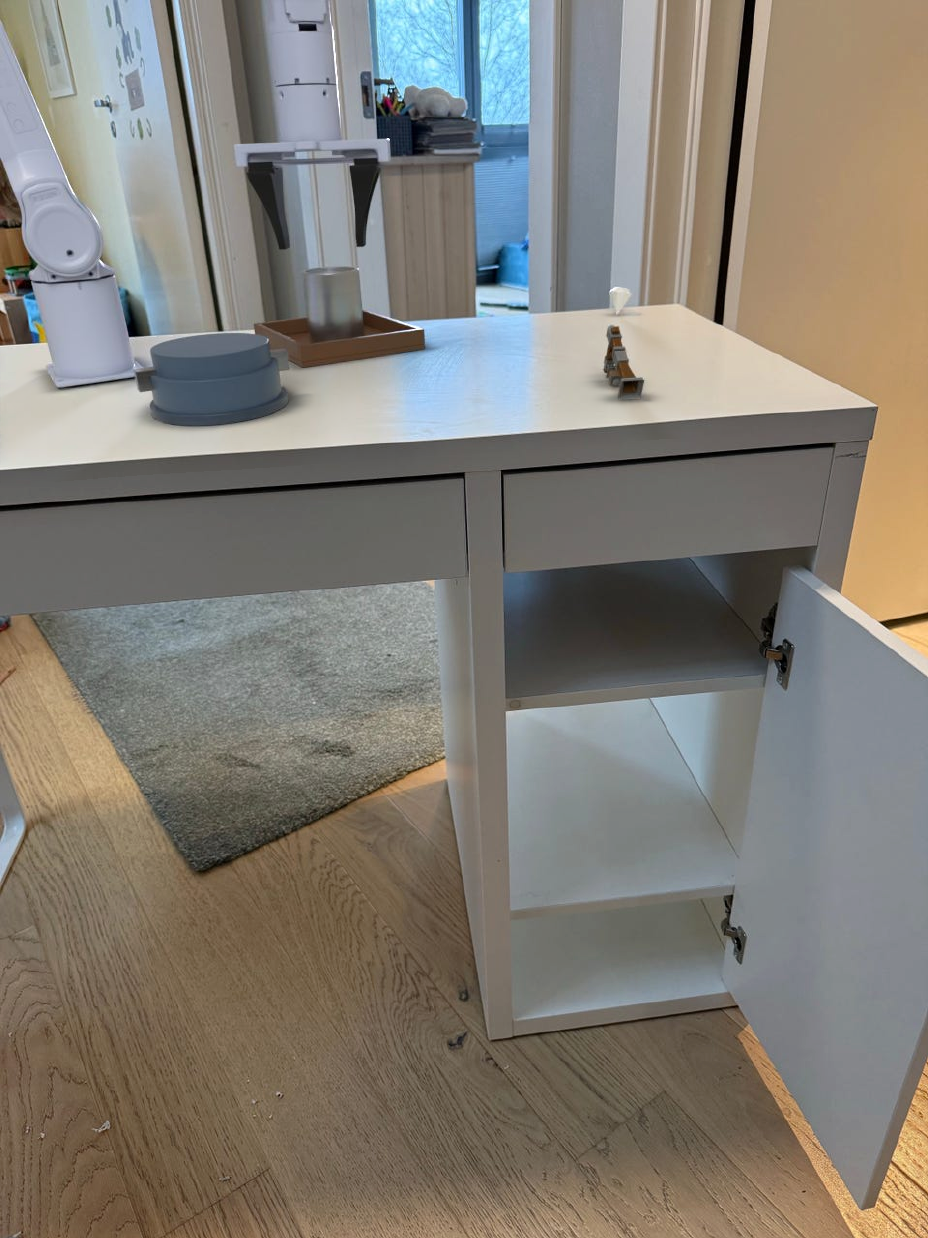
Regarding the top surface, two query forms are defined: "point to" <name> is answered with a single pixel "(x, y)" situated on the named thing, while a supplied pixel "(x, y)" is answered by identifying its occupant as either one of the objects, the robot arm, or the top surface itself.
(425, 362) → the top surface
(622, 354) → the brown grey angular piece
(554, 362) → the top surface
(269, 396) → the lidded cooking pot
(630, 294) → the gemstone
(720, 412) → the top surface
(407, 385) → the top surface
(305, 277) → the cup
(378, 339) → the tray
